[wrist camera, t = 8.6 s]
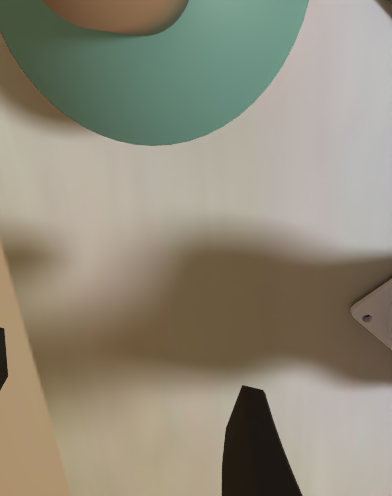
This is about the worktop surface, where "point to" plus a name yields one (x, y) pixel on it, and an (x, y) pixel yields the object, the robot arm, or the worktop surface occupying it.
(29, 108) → the worktop surface
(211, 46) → the lid
